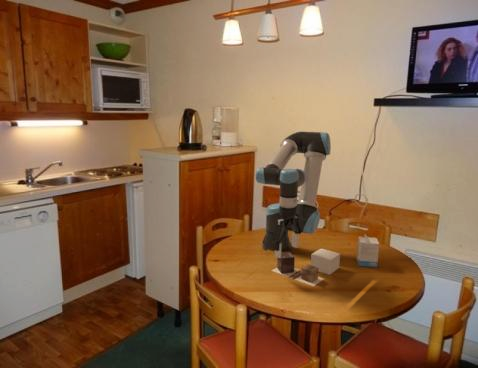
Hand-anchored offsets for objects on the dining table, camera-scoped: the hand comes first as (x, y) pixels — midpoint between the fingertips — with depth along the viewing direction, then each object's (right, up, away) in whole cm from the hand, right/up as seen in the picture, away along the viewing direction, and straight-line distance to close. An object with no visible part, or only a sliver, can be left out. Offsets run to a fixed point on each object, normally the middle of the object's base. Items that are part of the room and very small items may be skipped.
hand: (286, 251), depth 152 cm
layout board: (+5, -10, -2) cm, 11 cm away
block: (+9, -10, -7) cm, 15 cm away
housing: (+18, -9, +4) cm, 20 cm away
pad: (0, -9, +1) cm, 9 cm away
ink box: (+40, -8, +13) cm, 43 cm away
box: (0, -9, +1) cm, 9 cm away
